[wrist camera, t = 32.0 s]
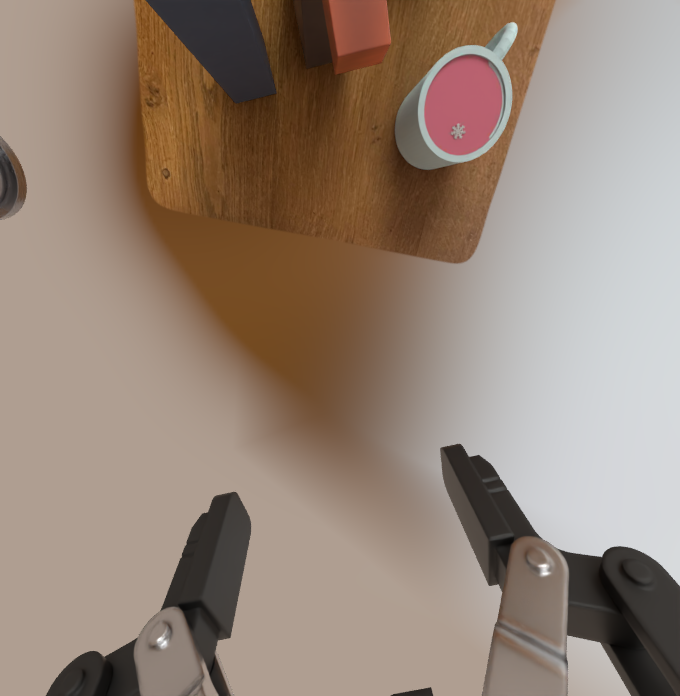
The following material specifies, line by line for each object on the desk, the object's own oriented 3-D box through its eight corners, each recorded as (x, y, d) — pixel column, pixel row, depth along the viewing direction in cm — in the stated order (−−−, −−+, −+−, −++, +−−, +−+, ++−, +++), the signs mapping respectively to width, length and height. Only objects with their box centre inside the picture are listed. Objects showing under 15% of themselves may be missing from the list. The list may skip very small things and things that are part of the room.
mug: (433, 185, 42) (465, 182, 33) (380, 137, 40) (398, 119, 31) (509, 80, 38) (569, 45, 29) (455, 18, 35) (502, -43, 26)
